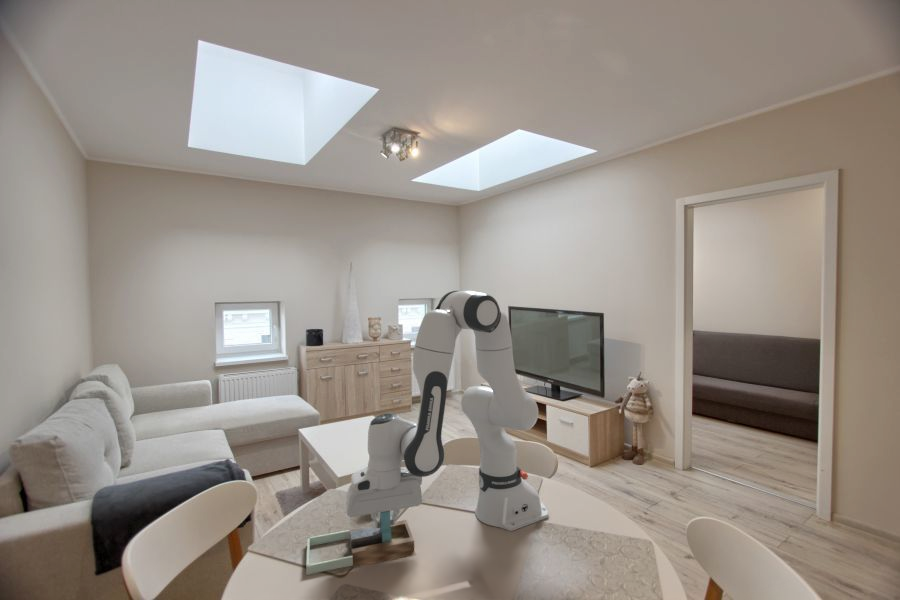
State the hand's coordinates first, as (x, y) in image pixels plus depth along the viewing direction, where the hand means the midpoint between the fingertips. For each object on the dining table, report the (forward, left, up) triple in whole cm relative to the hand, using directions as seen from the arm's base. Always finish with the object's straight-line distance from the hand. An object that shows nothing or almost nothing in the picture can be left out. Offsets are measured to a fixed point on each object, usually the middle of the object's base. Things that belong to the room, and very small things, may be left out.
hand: (385, 525), depth 110 cm
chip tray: (+15, 0, -6) cm, 16 cm away
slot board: (+1, 0, -6) cm, 6 cm away
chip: (+7, 0, -5) cm, 9 cm away
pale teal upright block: (0, 0, -5) cm, 5 cm away
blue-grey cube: (+3, 0, -5) cm, 6 cm away
